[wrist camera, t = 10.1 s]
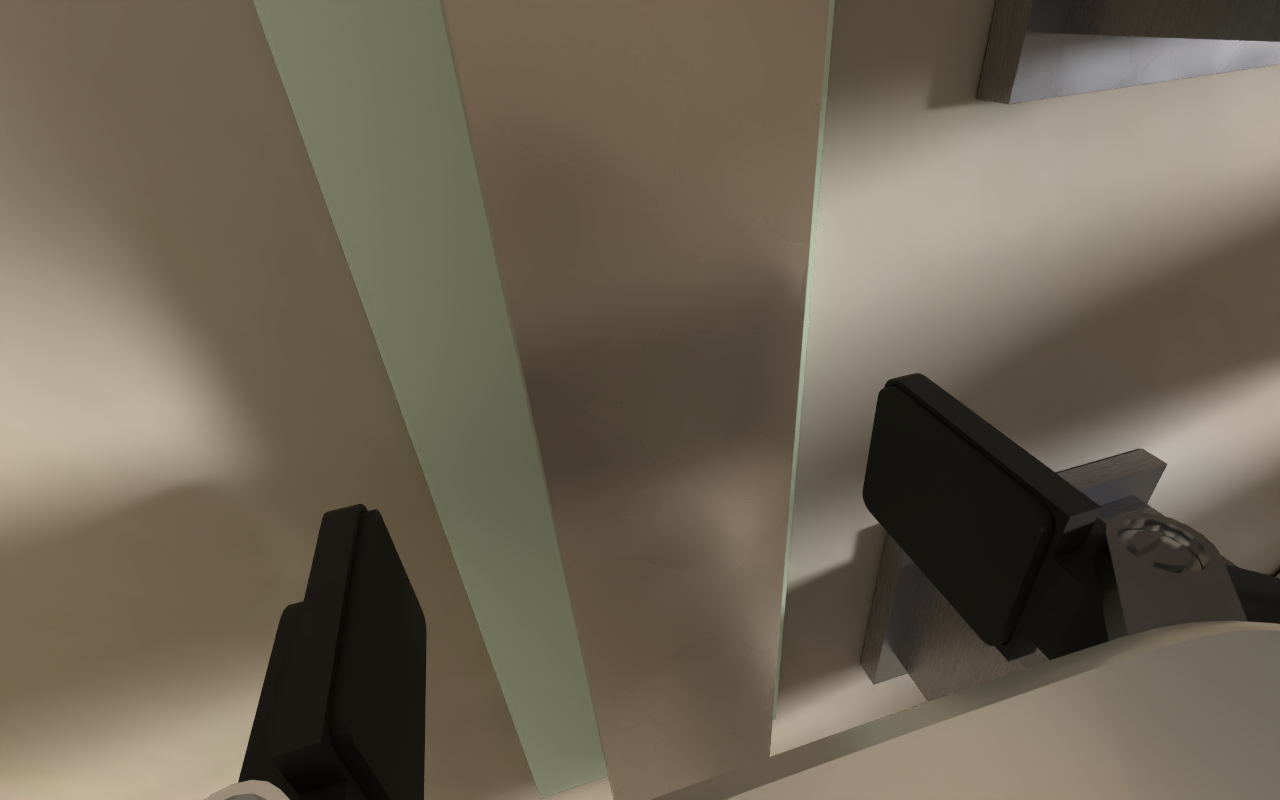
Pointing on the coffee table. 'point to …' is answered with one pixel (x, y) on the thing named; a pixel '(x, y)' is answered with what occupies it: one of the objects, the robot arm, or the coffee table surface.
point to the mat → (454, 336)
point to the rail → (657, 336)
